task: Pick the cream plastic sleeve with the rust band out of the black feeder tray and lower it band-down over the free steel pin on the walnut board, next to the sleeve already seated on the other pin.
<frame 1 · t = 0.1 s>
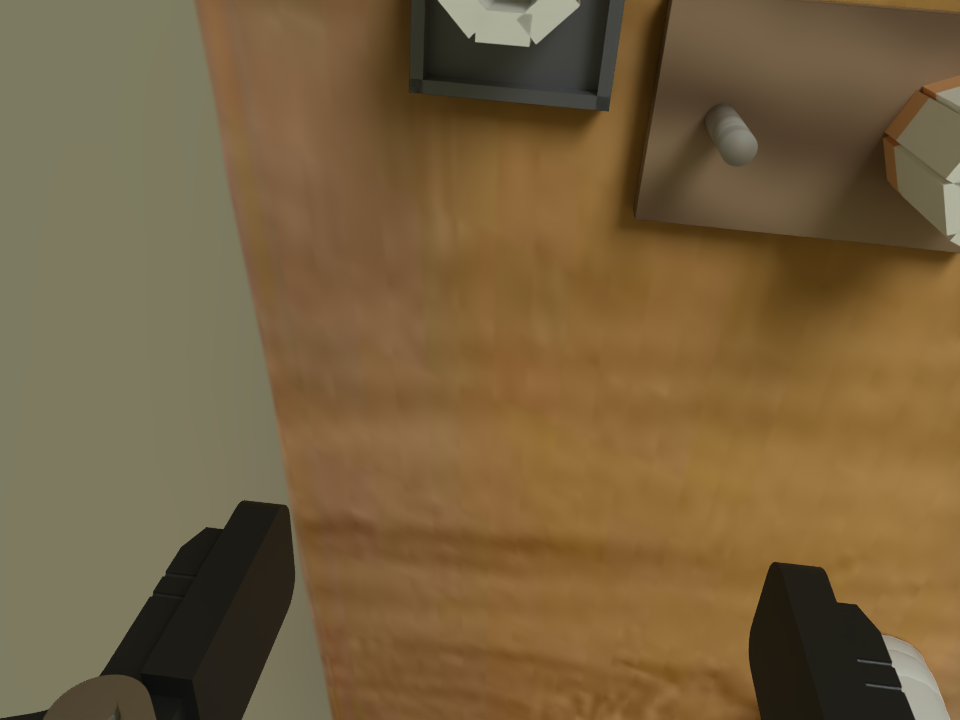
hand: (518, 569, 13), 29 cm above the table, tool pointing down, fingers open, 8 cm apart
pin board: (826, 122, 37), on the table
seated sleeve: (952, 141, 35), point 1 cm above the table, touching pin board
bottle: (861, 670, 54), on the table
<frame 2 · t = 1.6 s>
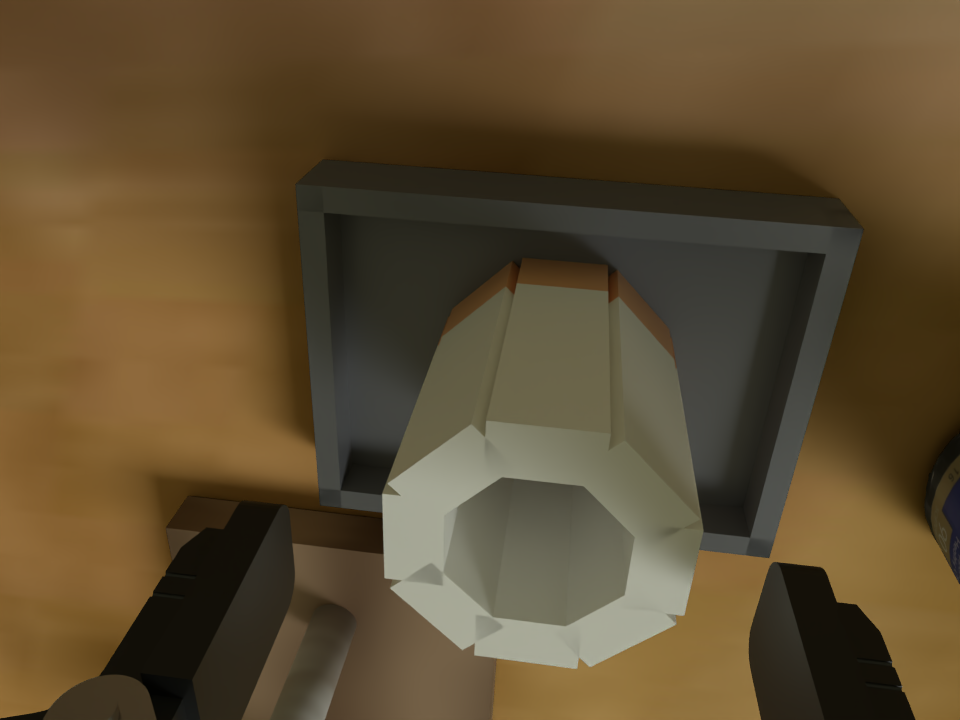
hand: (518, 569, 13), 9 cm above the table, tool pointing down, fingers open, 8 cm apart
pin board: (353, 688, 29), on the table
feeder tray: (556, 347, 21), on the table
sleeve: (555, 362, 20), point 1 cm above the table, touching feeder tray
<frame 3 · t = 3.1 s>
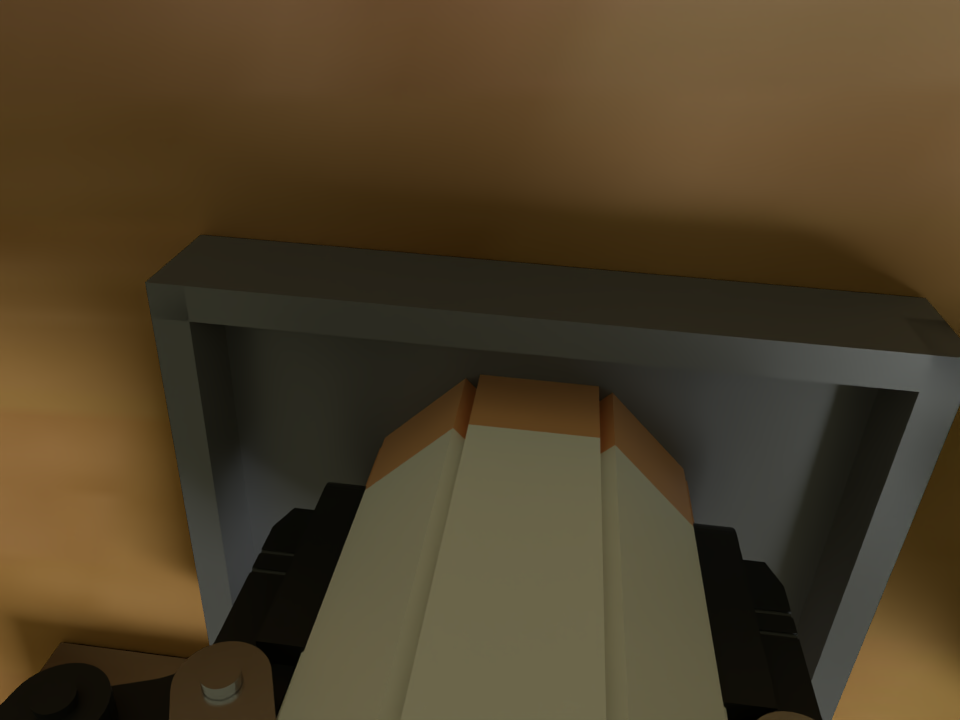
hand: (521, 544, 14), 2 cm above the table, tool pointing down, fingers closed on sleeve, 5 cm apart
feeder tray: (529, 480, 16), on the table
sleeve: (527, 507, 15), point 1 cm above the table, touching feeder tray, gripper
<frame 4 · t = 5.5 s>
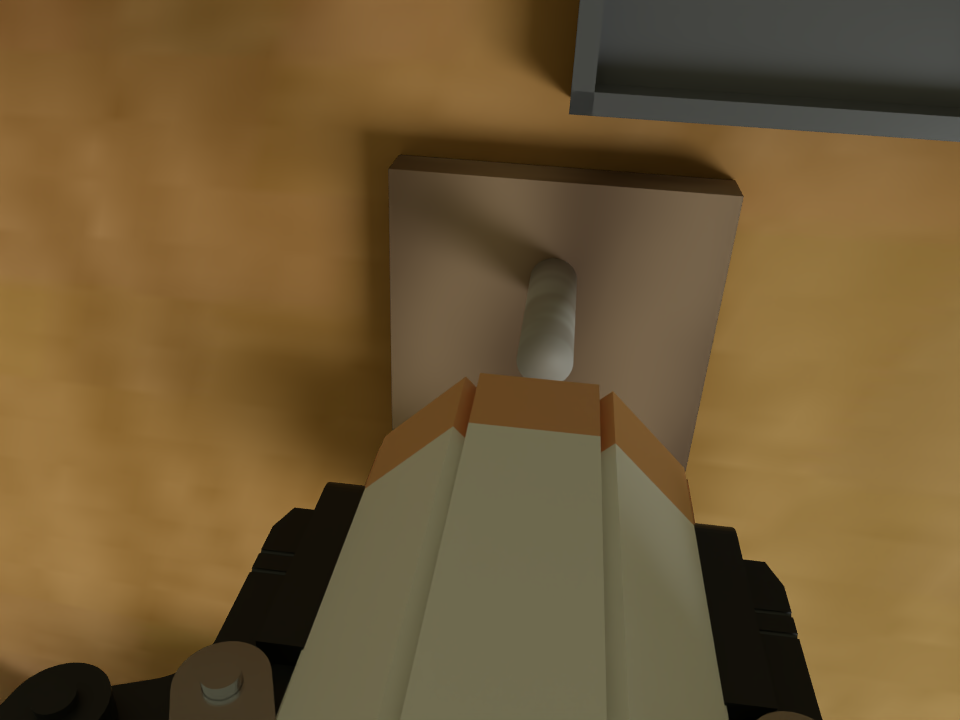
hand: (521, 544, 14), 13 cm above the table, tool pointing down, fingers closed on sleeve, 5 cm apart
pin board: (542, 394, 28), on the table
sleeve: (527, 506, 15), point 12 cm above the table, touching gripper
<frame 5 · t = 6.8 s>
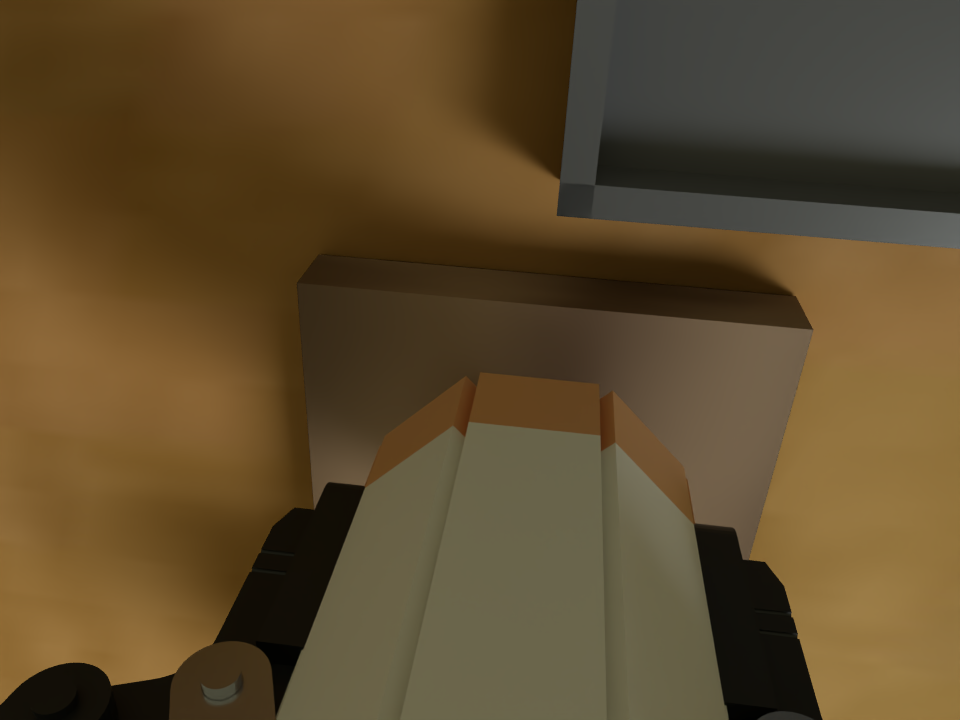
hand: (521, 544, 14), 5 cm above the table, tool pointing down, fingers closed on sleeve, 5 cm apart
pin board: (524, 558, 21), on the table
sleeve: (527, 505, 15), point 4 cm above the table, touching gripper
when the fingers open (5 cm above the table, at t = 7.7 s): sleeve drops 2 cm, resting on pin board.
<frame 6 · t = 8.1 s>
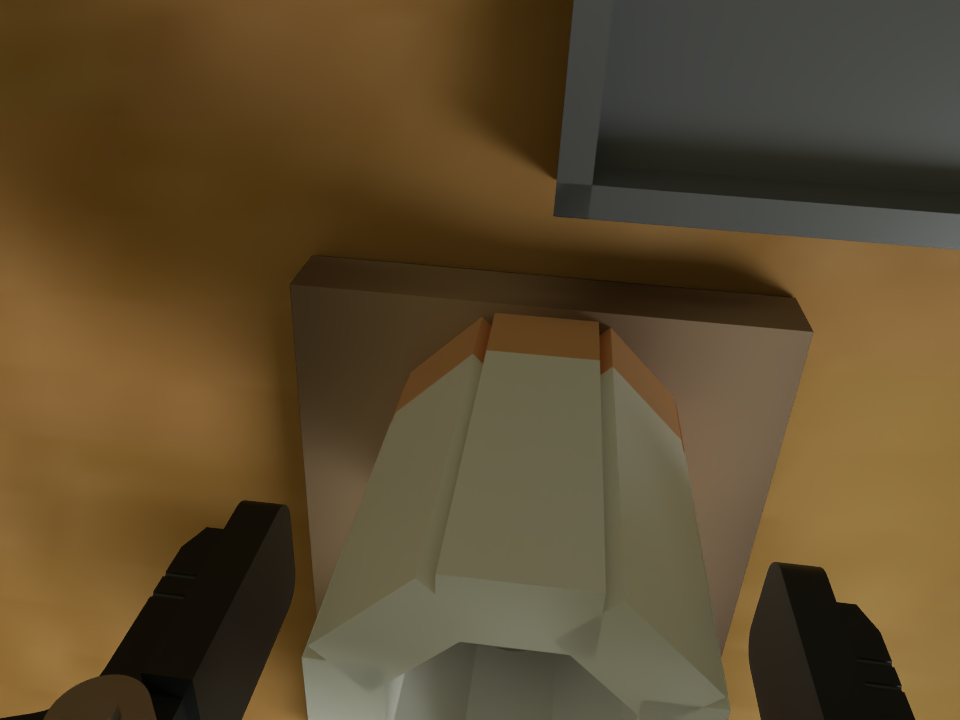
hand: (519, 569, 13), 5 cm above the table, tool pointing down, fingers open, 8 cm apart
pin board: (521, 562, 21), on the table
sleeve: (536, 434, 17), point 1 cm above the table, touching pin board
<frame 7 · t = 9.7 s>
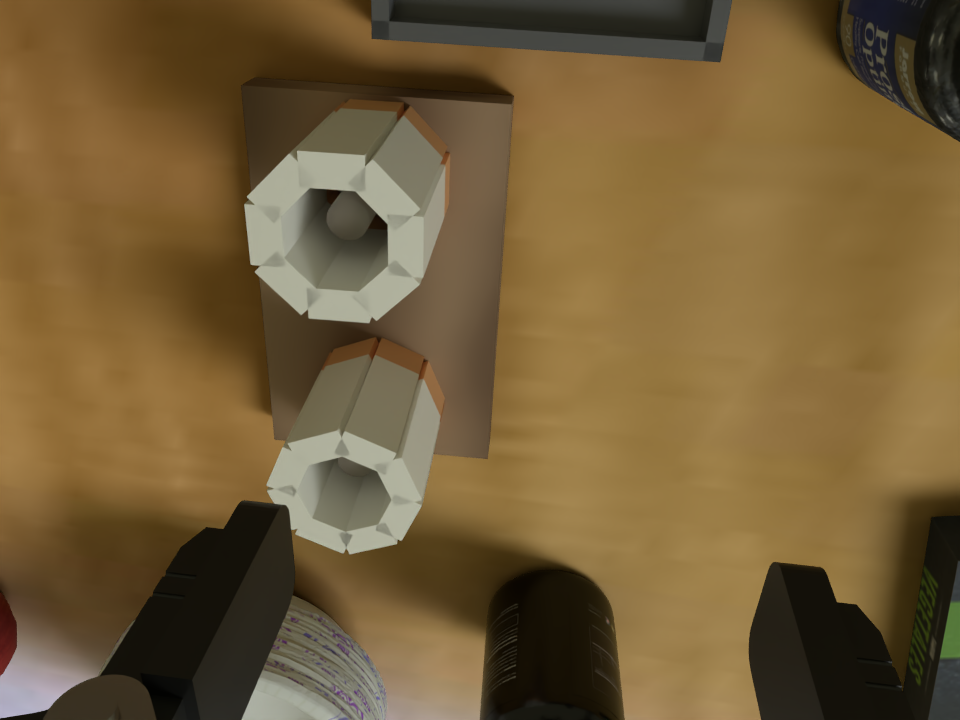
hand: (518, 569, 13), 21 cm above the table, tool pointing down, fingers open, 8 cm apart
pin board: (384, 278, 35), on the table
paper bowls: (271, 641, 47), on the table
seated sleeve: (379, 394, 36), point 1 cm above the table, touching pin board
sleeve: (378, 174, 31), point 1 cm above the table, touching pin board
supplement bottle: (551, 608, 44), on the table
pill bottle: (923, 4, 28), on the table
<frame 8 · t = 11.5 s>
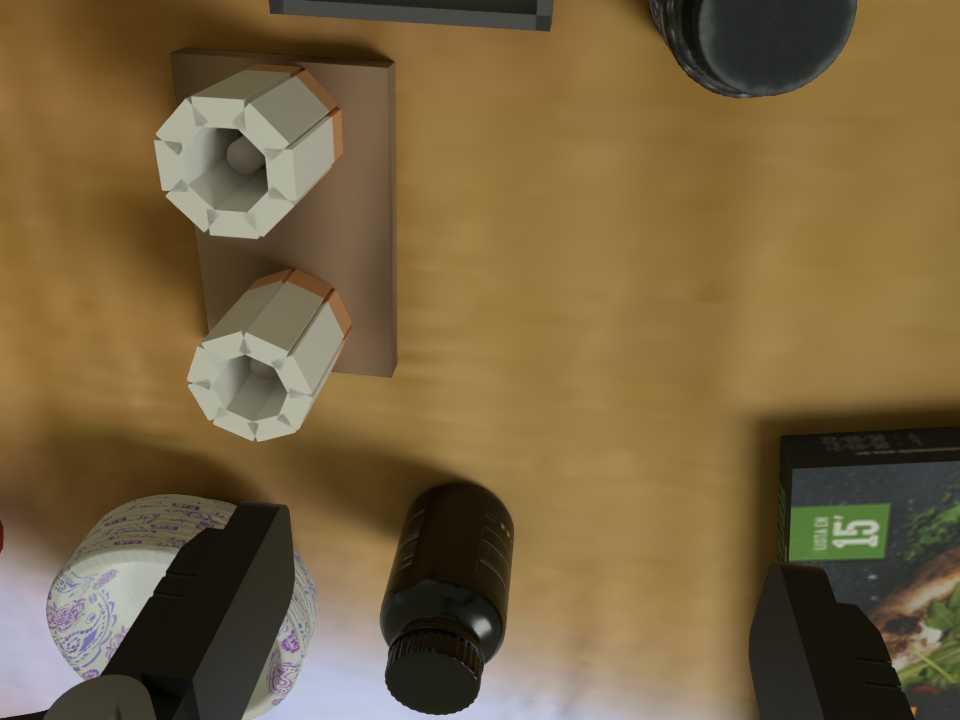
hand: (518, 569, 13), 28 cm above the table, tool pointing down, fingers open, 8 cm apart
pin board: (300, 219, 41), on the table
paper bowls: (223, 550, 54), on the table
seated sleeve: (297, 319, 42), point 1 cm above the table, touching pin board
sleeve: (284, 127, 37), point 1 cm above the table, touching pin board
supplement bottle: (462, 520, 50), on the table
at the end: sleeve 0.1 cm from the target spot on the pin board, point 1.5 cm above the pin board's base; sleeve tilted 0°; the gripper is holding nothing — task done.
